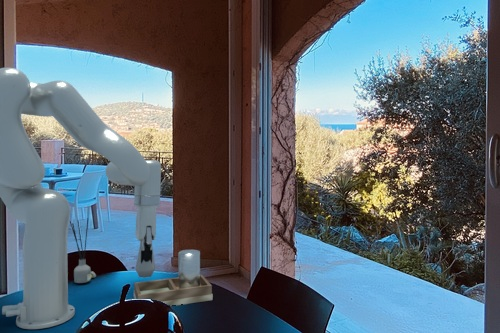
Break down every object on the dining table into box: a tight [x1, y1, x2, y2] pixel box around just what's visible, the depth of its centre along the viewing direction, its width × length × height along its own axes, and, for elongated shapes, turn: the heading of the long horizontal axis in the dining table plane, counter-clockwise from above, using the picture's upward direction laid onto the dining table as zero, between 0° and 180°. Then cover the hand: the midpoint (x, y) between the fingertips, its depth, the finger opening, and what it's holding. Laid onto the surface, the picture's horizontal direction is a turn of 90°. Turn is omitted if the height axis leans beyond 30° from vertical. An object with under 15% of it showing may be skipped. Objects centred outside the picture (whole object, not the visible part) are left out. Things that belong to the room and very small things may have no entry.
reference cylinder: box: [177, 249, 201, 289], centre depth 106 cm, size 6×6×11 cm
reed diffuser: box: [69, 218, 97, 284], centre depth 117 cm, size 10×7×20 cm
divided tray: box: [132, 273, 214, 307], centre depth 104 cm, size 20×11×4 cm, turn 113°
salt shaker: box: [135, 235, 156, 279], centre depth 112 cm, size 6×6×13 cm
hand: (145, 261), depth 112 cm, fingers closed on salt shaker, 3 cm apart
